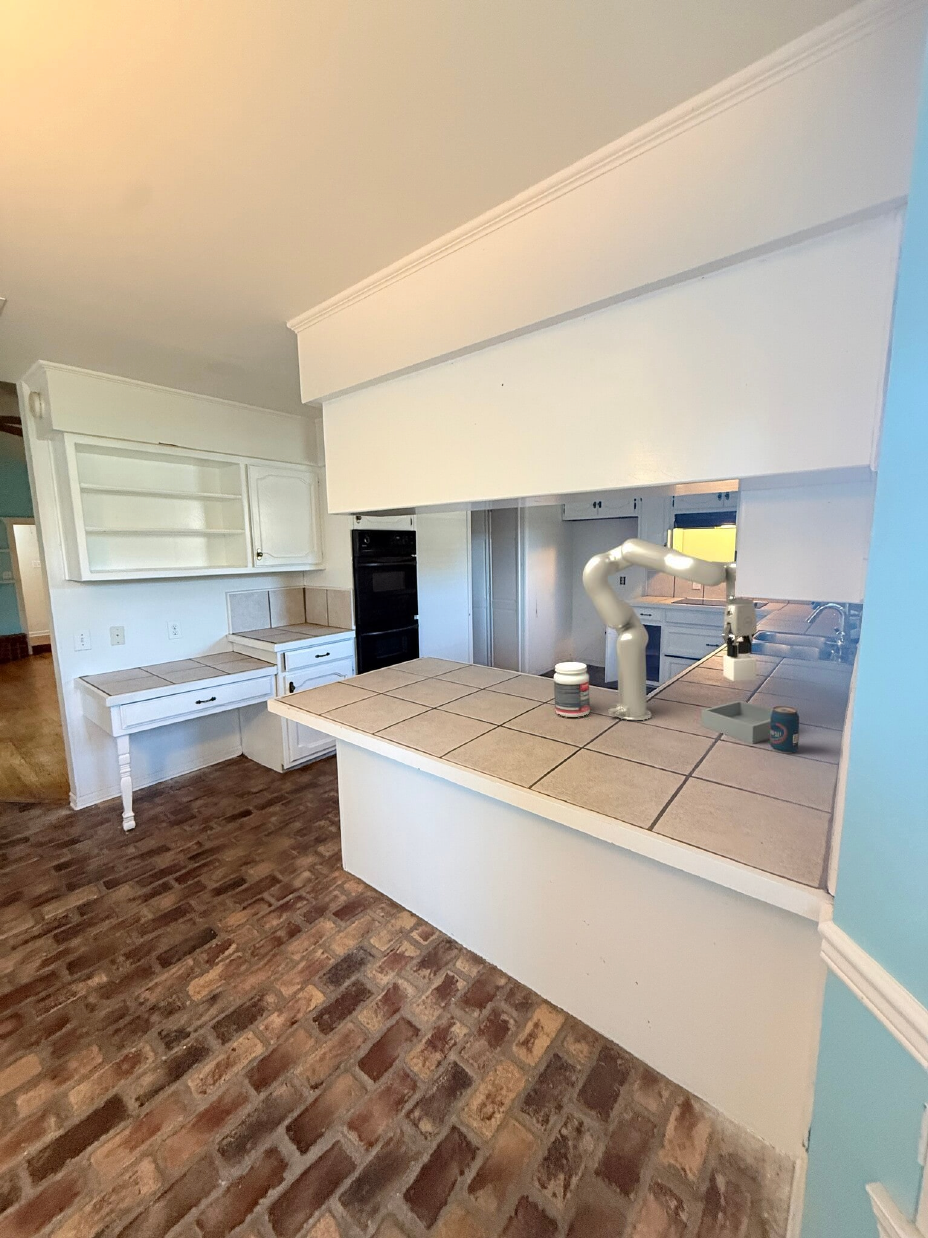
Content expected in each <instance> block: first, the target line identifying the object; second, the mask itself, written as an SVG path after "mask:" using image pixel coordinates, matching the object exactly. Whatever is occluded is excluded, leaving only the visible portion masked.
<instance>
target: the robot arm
mask: <svg viewBox="0 0 928 1238" xmlns="http://www.w3.org/2000/svg"><path fill="white" fill-rule="evenodd" d="M736 561H737V560H736ZM736 561H735V560H734V561H730V562H729V561H709V560H705V559H701V558H697V557H695V556H691V555H688V554H685V553H682V552H681V551H679V550H677V549H675V548H672V547H668V546H663V545H659V544H656V543H652V542H649V541H646V540H643V539H640V538H628V539H627V540H625V541H624V542H623V543H622V544H621V545H618V546H617V547H615V548H612V549H610V550H608V551H606V552H604V553H598V554H595V555H594V556H592V557H591V558H590V559H589V560H588V562H587V563H586V564H585V566H584V569H583V573H582V584H583V588H584V589H585V593H587V595H588V597H589V599H590V600H591V602H592V603H593V605H594V607H595V609H596V610H597V612H598V615H599V616H600V618H601V619H602V621H603V622H604V624H605V625H606V626H607V628H609V629H613V630H614V631H616V633H617V635H618V637H617V639H616V643H615V648H616V649H615V650H616V660H617V691H618V692H617V693H618V694H617V696H618V697H617V698H618V699H617V701H618V703H616V704H615V707H614V708H612V707H611V708H609V709H608V710H607V712H608V714H609V715H614V714H615V715H616V716H617V717H620V718H621V719H620V720H622V719H627V720H643V721H645V720H644V719H647V720H649V719H650V718H652V712H651V711H650V710H648V709H647V664H646V662H647V661H646V647H647V645H648V643H649V634H648V633H649V632H648V631H647V629H646V628H645V626H644V624H643V623H642V621H641V620H640V618H639V616H638V615H637V613H636V612H635V610H634V608H633V607H632V606H631V605H630V604H629V603H628V602H627V601H624V600H621V599H620V598H619V597H618V596H619V595H617V593H616V591H615V590H614V588H613V587H612V585H611V584H610V582H609V579H608V577H610V576H612V575H615V574H616V573H618V572H621V571H623V570H625V569H627V568H630V567H632V566H637V567H642V568H644V569H645V568H646V569H649V570H652V571H655V572H659V573H662V574H664V575H668V576H672V577H675V578H679V579H682V580H685V581H689V582H691V583H695V584H699V585H702V586H706V587H717V586H719V585H721V584H723V583H724V584H725V589H726V590H725V594H726V596H725V607H724V608H725V610H724V617H723V631H722V633H721V637H722V639H723V640H724V642H725V644H726V655H727V656H728V657H734V658H736V657H737V645H736V642H737V641H738V638H739V637H741V638H742V640H741V641H743V642H747V643H749V644H750V655H752V644H753V643H752V642H753V641H754V636H755V633H757V630H758V629H757V626H758V625H757V623H758V622H757V613H756V612H757V611H756V606H755V603H754V599H753V600H749V599H743V598H736V597H735V581H736V575H735V574H736ZM732 638H733V639H732ZM615 715H614V716H615ZM616 716H615V717H616ZM617 717H616V718H617ZM648 718H649V719H648ZM627 720H626V721H627Z"/></svg>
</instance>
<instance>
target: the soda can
mask: <svg viewBox="0 0 928 1238" xmlns="http://www.w3.org/2000/svg"><path fill="white" fill-rule="evenodd" d="M772 710H773V711H772V712H771V714H770V739H769V744H770V745H769V746H771V748H772V750H773V751H775V752H778V753H782V752H783V754H793V753H792V752H794V753H795V752H796V751H797V750H798V748H799V741H800V740H799V739H800V738H799V737H800V735H799V734H800V715H799V713H798V710H797V709H796V708H794V707H790V706H785V705H784V706H782V705H780V706H774V707H773V708H772Z"/></svg>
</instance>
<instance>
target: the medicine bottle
mask: <svg viewBox="0 0 928 1238" xmlns="http://www.w3.org/2000/svg"><path fill="white" fill-rule="evenodd" d="M736 645H737V657H736V658H734V657H728V656H727V654H724V655H723V656H722V657H723V660H722V661H723V663H722V665H723V673H722V675H723V677H725V678H727V679H728V680H729V681H732V682H747V681H748V682H751V681H756V680H757V659H756V658H755V657H753V656H750V655H751V654H750V644H749V643H747V642H743V640H740V641H739V640H737V642H736Z"/></svg>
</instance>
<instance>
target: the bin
mask: <svg viewBox="0 0 928 1238" xmlns="http://www.w3.org/2000/svg"><path fill="white" fill-rule="evenodd" d="M772 711H773V708H772V709H771V708H768V707H764V706H761V705H756V704H753V703H749V702H746V701H744V700H743V701H742V700H735V701H731V702H728V703H723V704H720V705H716V706H713V707H708V708H705V709H701V713H700V715H701V720H700V721H701V727H703V726H704V727H703V728H705V729H708V728H709V729H708V730H711V731H715V732H717V733H721V734H722V733H723V735H725V734H726V735H725V736H728V737H731V738H734V737H735V738H734V739H738V740H740V741H742V740H743V742H744V743H745V742H746V743H748V744H752V745H754V744H757V743H761V742H763V741H766V740H770V714H771V712H772Z"/></svg>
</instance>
